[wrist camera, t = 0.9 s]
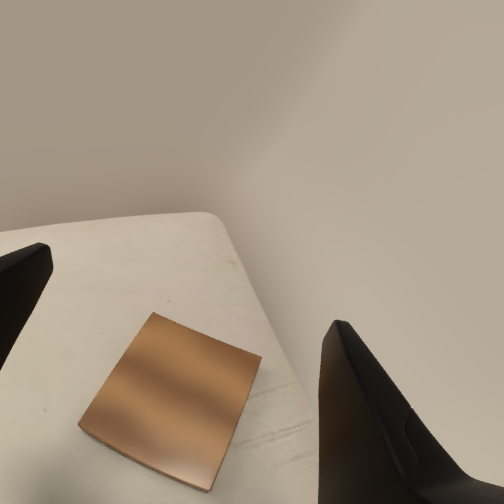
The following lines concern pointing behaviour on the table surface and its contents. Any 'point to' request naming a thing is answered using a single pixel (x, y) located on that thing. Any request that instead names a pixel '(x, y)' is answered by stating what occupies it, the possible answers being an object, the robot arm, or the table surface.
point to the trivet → (173, 401)
